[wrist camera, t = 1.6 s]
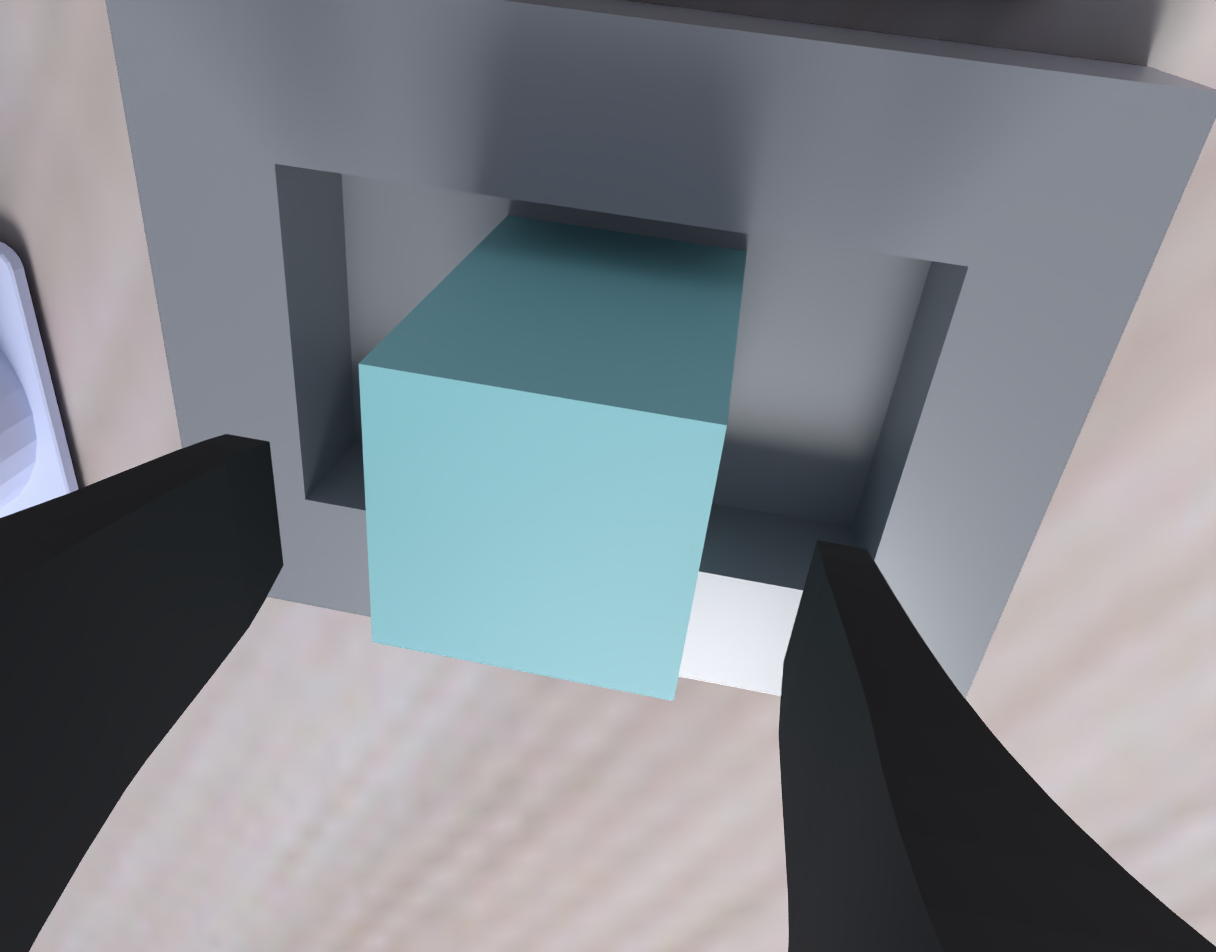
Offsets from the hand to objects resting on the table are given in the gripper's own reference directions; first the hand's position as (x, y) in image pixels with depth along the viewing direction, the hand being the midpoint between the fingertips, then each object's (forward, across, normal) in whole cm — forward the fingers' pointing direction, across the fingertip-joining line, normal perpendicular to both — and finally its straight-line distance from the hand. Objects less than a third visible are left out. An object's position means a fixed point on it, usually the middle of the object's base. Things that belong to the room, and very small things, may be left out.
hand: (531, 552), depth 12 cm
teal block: (+7, 0, 0) cm, 7 cm away
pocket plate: (+8, 0, 0) cm, 8 cm away
